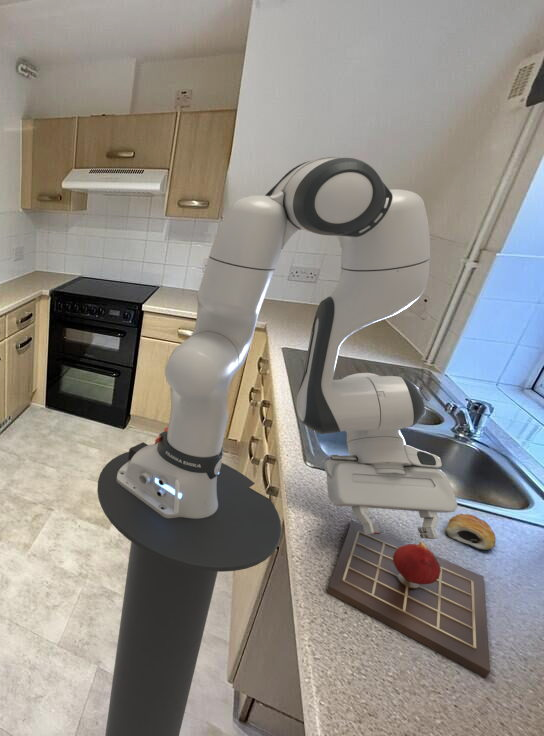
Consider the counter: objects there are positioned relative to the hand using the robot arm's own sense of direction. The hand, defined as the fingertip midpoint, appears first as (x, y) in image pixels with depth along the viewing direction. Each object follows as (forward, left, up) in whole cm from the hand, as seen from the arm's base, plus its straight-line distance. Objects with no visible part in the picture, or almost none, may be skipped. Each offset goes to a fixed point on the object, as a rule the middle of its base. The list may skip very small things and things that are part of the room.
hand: (400, 536), depth 73 cm
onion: (+3, -3, -6) cm, 7 cm away
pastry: (+11, +22, -8) cm, 25 cm away
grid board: (+3, -3, -7) cm, 8 cm away
